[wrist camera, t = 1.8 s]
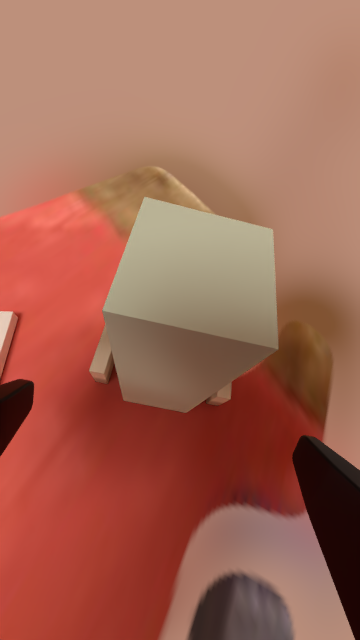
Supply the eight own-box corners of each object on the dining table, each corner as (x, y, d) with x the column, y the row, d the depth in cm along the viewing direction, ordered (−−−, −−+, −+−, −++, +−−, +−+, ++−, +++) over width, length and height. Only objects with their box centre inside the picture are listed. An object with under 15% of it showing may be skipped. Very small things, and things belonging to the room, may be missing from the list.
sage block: (186, 412, 19) (278, 349, 7) (123, 400, 19) (102, 310, 6) (194, 353, 21) (272, 229, 9) (138, 342, 21) (144, 196, 9)
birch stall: (217, 405, 20) (230, 399, 17) (95, 381, 19) (89, 370, 16) (223, 339, 23) (234, 325, 20) (116, 316, 22) (114, 298, 19)
